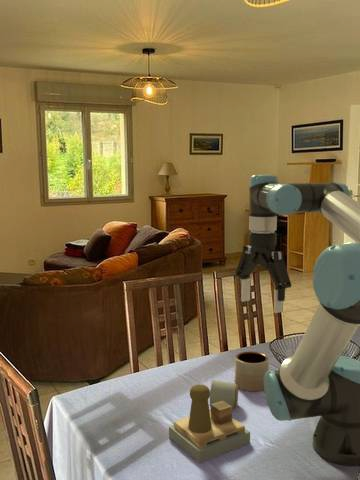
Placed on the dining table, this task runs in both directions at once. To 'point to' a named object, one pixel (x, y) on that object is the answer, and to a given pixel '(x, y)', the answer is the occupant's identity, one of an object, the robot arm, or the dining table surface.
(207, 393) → the olive pawn
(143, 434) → the dining table surface
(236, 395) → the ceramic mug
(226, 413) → the crate
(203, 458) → the dock
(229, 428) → the pallet
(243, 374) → the planter
